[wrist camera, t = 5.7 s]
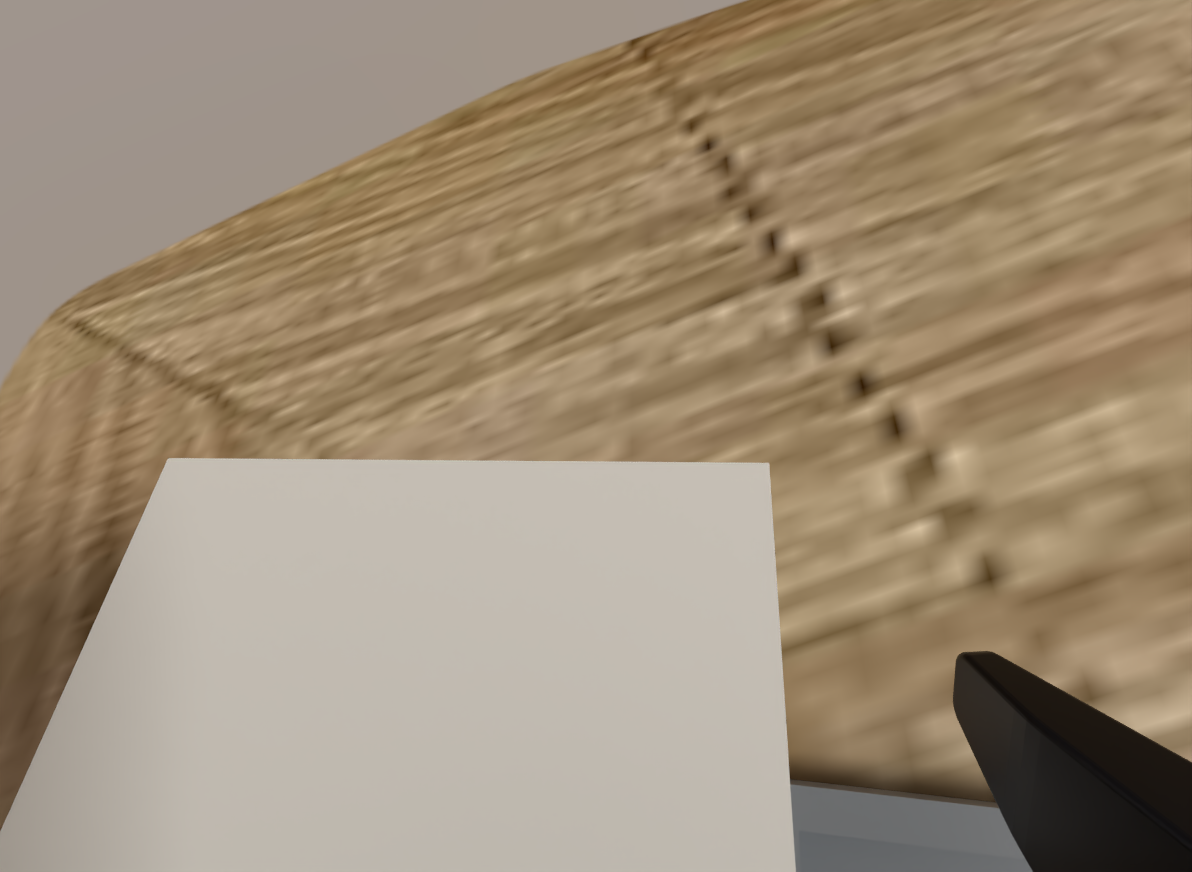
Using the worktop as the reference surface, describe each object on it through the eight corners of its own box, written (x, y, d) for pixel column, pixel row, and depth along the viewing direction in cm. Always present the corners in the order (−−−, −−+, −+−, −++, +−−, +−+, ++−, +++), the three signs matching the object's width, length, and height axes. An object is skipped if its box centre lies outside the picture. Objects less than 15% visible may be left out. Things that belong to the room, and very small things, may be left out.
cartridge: (716, 874, 13) (882, 1918, 2) (518, 848, 13) (-282, 1438, 2) (712, 655, 15) (777, 454, 4) (541, 644, 15) (165, 452, 4)
